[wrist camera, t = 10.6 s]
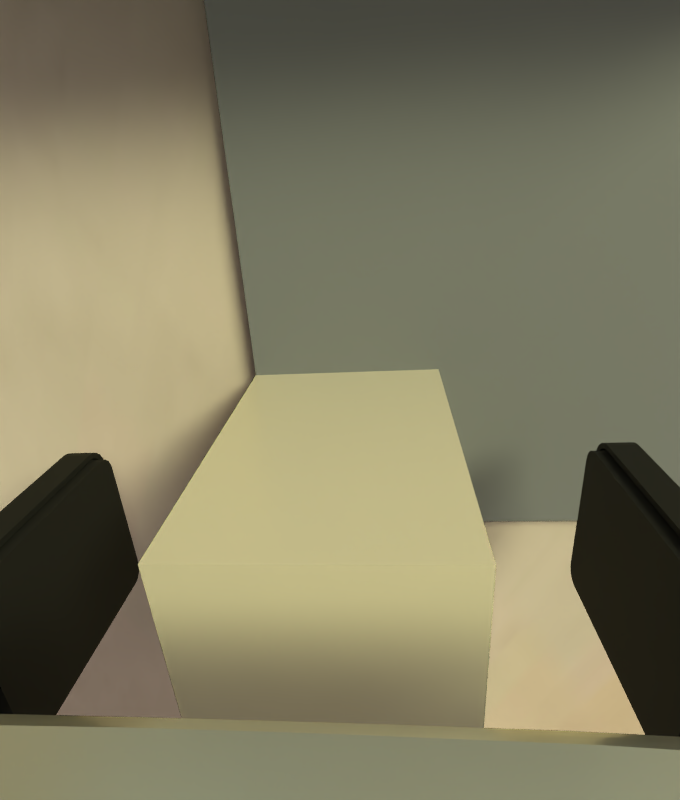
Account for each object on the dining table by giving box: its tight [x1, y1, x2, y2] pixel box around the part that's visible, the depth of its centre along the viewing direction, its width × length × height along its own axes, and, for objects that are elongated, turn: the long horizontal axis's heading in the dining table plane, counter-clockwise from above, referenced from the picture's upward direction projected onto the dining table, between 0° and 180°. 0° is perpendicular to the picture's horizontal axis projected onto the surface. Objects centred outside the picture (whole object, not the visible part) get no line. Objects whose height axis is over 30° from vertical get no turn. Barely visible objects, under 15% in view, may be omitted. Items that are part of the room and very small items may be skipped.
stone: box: [138, 369, 496, 728], centre depth 9 cm, size 4×4×6 cm
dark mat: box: [204, 0, 680, 521], centre depth 10 cm, size 11×11×1 cm
